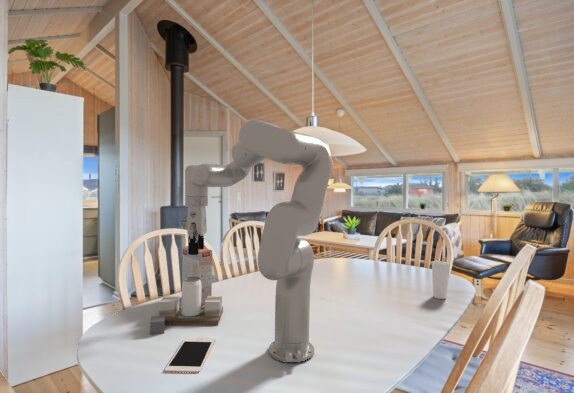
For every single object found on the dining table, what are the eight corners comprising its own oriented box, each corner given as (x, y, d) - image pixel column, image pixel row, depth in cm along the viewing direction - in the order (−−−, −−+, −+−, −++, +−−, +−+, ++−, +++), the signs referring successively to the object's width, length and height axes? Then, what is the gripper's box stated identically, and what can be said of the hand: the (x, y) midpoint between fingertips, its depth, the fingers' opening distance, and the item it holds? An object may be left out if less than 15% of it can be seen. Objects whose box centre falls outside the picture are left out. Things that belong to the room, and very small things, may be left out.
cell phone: (215, 340, 101) (215, 337, 101) (199, 374, 83) (199, 371, 83) (185, 340, 101) (185, 337, 101) (163, 374, 83) (163, 370, 83)
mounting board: (217, 325, 111) (218, 305, 111) (155, 325, 110) (155, 305, 109) (222, 311, 123) (223, 293, 123) (166, 311, 122) (167, 293, 121)
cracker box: (212, 303, 131) (213, 249, 130) (198, 306, 127) (198, 251, 126) (194, 294, 141) (195, 244, 141) (181, 297, 137) (181, 246, 136)
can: (181, 318, 112) (181, 282, 112) (181, 311, 118) (181, 277, 118) (201, 316, 114) (202, 281, 113) (200, 309, 120) (201, 275, 120)
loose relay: (164, 333, 104) (164, 320, 104) (150, 335, 103) (150, 322, 103) (164, 327, 109) (164, 314, 109) (151, 328, 108) (151, 316, 107)
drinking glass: (430, 298, 142) (431, 263, 142) (431, 294, 148) (432, 260, 147) (448, 301, 139) (449, 265, 138) (448, 296, 145) (450, 261, 144)
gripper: (203, 203, 107) (202, 257, 107) (211, 200, 124) (211, 247, 124) (178, 202, 106) (178, 257, 107) (190, 200, 124) (190, 247, 124)
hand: (196, 251), depth 116 cm, fingers open, 9 cm apart
